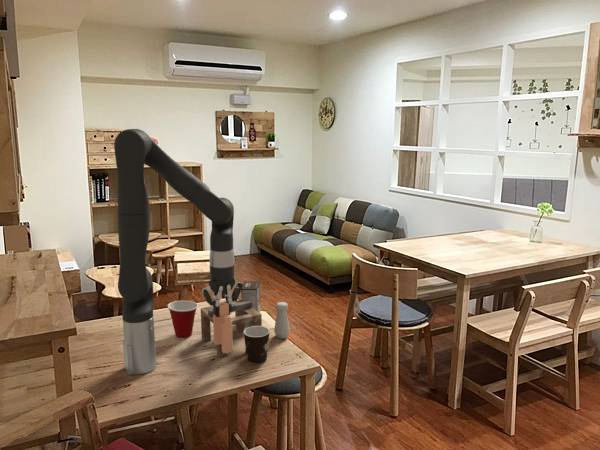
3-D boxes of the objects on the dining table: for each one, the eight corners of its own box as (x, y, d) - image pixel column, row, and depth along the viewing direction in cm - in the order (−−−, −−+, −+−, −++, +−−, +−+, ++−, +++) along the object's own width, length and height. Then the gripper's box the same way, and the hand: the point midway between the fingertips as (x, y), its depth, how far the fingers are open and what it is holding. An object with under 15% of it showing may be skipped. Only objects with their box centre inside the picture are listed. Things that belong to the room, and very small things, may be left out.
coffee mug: (258, 350, 171) (258, 323, 169) (275, 359, 165) (275, 331, 163) (231, 362, 163) (230, 333, 161) (247, 371, 157) (247, 342, 155)
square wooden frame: (219, 357, 166) (218, 318, 163) (201, 339, 179) (200, 303, 176) (261, 346, 175) (261, 308, 172) (241, 329, 188) (241, 294, 185)
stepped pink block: (223, 353, 155) (223, 308, 152) (213, 343, 162) (212, 300, 159) (232, 351, 157) (232, 306, 154) (222, 341, 163) (221, 298, 160)
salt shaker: (281, 331, 186) (281, 299, 184) (293, 336, 183) (293, 302, 180) (270, 336, 182) (270, 303, 179) (282, 341, 178) (282, 307, 176)
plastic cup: (204, 336, 182) (202, 306, 179) (175, 344, 176) (173, 312, 173) (192, 326, 190) (191, 296, 188) (165, 333, 184) (163, 302, 182)
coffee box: (244, 318, 198) (244, 280, 194) (260, 318, 198) (260, 280, 194) (241, 328, 189) (240, 288, 185) (258, 328, 189) (258, 288, 185)
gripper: (205, 269, 146) (206, 324, 150) (247, 263, 154) (247, 315, 158) (195, 263, 153) (197, 315, 156) (237, 257, 160) (237, 307, 164)
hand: (222, 315), depth 157 cm, fingers closed on stepped pink block, 3 cm apart
